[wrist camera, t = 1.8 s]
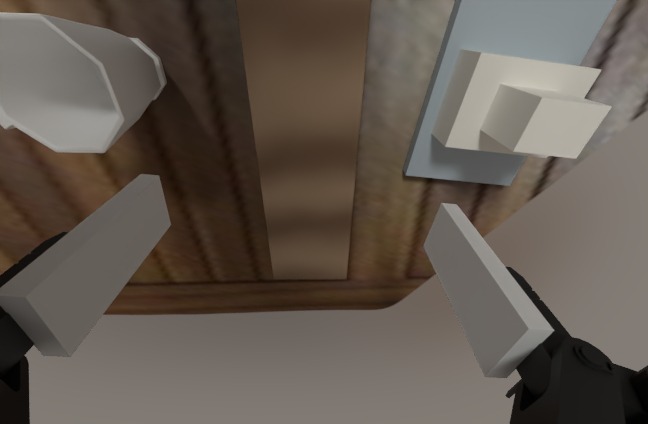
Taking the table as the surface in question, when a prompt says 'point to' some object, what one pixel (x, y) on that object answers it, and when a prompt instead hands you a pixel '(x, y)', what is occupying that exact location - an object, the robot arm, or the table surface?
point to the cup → (73, 81)
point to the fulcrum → (508, 89)
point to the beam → (306, 125)
